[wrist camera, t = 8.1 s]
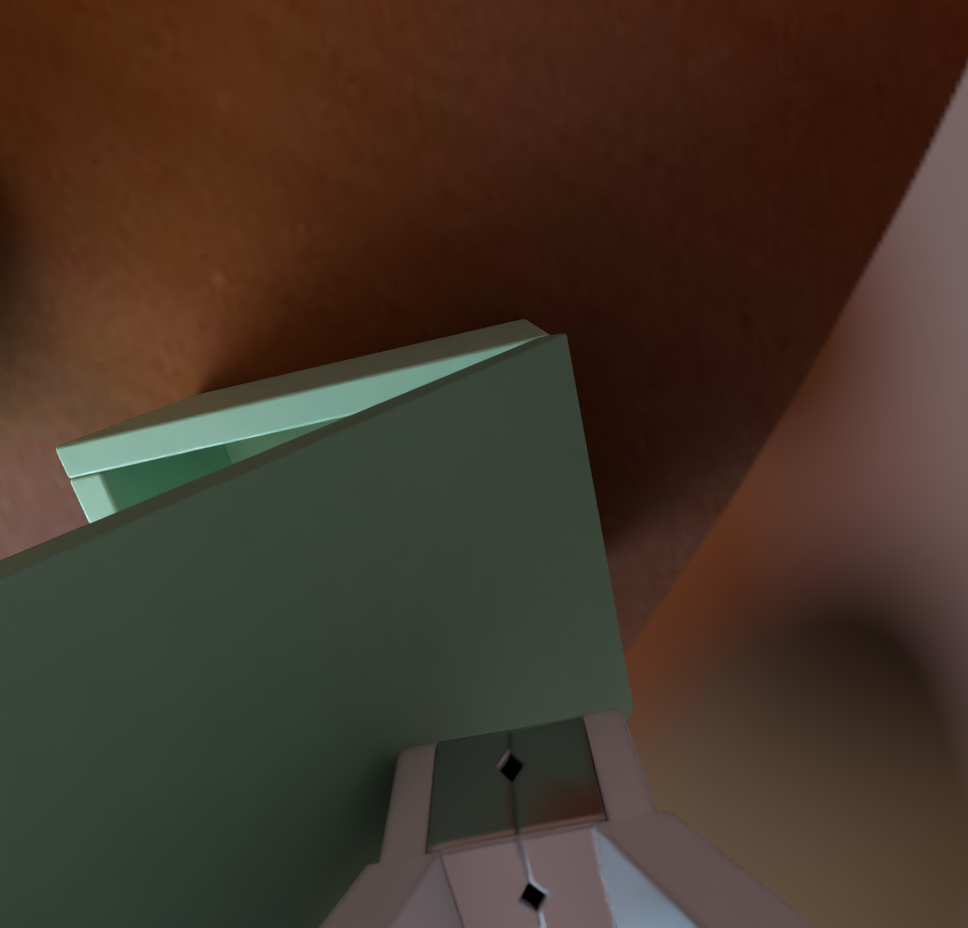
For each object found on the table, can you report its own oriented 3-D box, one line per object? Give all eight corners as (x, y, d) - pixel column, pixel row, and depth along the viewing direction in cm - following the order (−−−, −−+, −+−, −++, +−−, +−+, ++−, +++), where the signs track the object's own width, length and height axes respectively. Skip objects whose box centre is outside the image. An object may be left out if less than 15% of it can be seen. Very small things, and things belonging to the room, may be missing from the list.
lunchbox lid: (155, 1529, 6) (191, 1610, 5) (-557, 788, 3) (-594, 836, 3) (608, 701, 15) (634, 707, 15) (537, 337, 12) (567, 332, 12)
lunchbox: (283, 632, 22) (203, 773, 16) (194, 395, 20) (52, 447, 13) (576, 572, 22) (618, 694, 15) (526, 318, 19) (550, 333, 12)
